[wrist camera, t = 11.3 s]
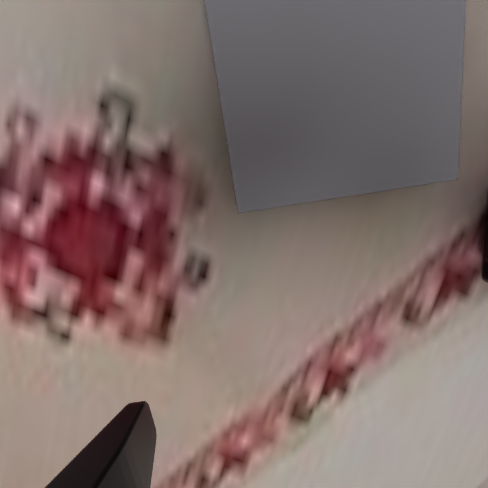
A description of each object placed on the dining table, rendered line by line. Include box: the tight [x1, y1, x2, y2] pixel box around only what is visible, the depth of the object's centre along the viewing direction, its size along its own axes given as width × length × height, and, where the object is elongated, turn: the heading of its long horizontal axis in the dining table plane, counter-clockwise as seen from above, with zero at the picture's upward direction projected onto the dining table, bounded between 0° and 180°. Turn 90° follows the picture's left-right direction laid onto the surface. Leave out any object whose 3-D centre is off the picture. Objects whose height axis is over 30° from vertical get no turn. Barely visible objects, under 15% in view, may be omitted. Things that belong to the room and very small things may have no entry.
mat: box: [205, 0, 466, 213], centre depth 17 cm, size 12×12×2 cm
